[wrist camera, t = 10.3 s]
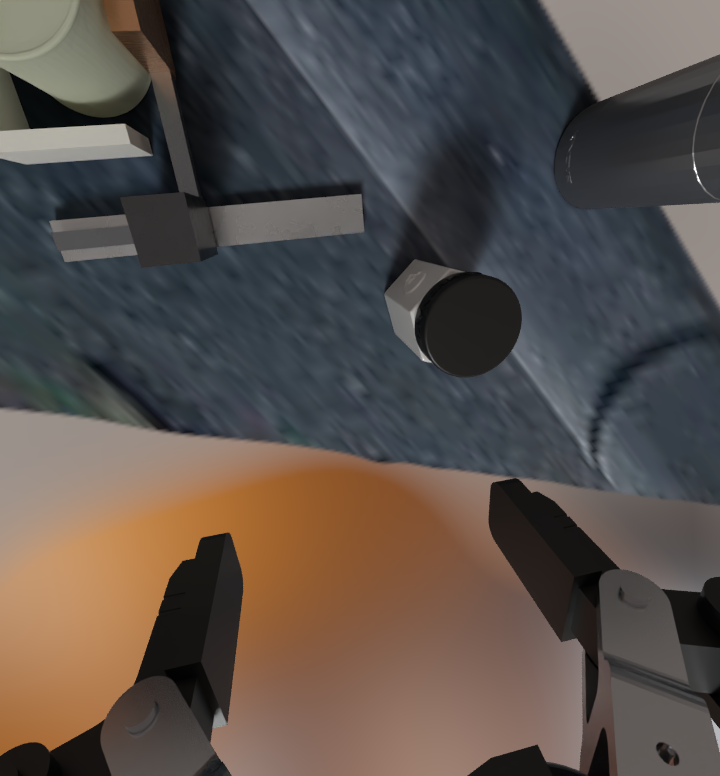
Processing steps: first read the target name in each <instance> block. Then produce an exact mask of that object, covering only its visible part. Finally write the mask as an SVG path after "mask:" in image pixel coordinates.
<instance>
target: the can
mask: <svg viewBox="0 0 720 776" xmlns="http://www.w3.org/2000/svg"><path fill="white" fill-rule="evenodd" d="M0 67H1V68H3V69H5V70H6V71H8V72H10V73H12V74H14V75H16V76H18V77H19V78H21V79H23V80H25V81H27V82H29V83H30V84H32V85H34V86H36V87H37V88H39V89H41V90H43V91H44V92H46V93H48V94H50V95H51V96H52V97H53V98H55V99H56V100H57V101H59V102H60V103H62V104H63V105H65V106H66V107H68V108H70V109H72V110H74V111H76V112H79V113H82V114H85V115H88V116H93V117H101V118H106V117H115V116H119V115H122V114H124V113H127V112H128V111H130V110H132V109H133V108H134V107H135V106H137V105H138V104H139V102H140V101H141V100H142V99H143V97H144V96H145V94H146V92H147V90H148V88H149V86H150V82H151V76H150V74H149V73H148V72H147V71H146V69H145V68H144V67H143V66H142V65H141V64H140V63H139V62H138V61H137V59H136V58H135V57H134V56H133V55H132V54H131V53H130V52H129V51H128V50H127V48H126V47H125V46H124V45H123V44H122V43H121V42H120V41H119V40H118V38H117V37H116V36H115V35H114V34H113V33H112V32H111V29H110V26H109V22H108V18H107V15H106V11H105V7H104V4H103V0H0Z"/></svg>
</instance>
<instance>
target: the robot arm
mask: <svg viewBox="0 0 720 776" xmlns="http://www.w3.org/2000/svg"><path fill="white" fill-rule="evenodd" d="M554 173H555V179H556V184H557V187H558V189H559V192H560V193H561V195H562V196H563V198H564V199H565V200H566V201H567V202H568V203H569V204H571V205H572V206H575V207H577V208H581V209H603V208H626V207H645V206H663V205H682V204H701V203H719V202H720V55H717V56H715V57H712V58H709V59H707V60H704V61H702V62H699V63H697V64H694V65H692V66H689V67H687V68H684V69H682V70H679V71H676V72H674V73H672V74H669V75H666V76H664V77H661V78H659V79H656V80H654V81H651V82H649V83H646V84H644V85H641V86H638V87H636V88H634V89H631V90H628V91H625V92H623V93H620V94H618V95H615V96H613V97H610V98H608V99H605V100H603V101H600V102H598V103H595V104H592V105H591V106H589V107H587V108H586V109H584V110H582V111H581V112H580V113H579V114H578V115H577V116H576V117H575V118H574V119H573V120H572V121H571V123H570V124H569V125H568V127H567V128H566V130H565V132H564V134H563V135H562V137H561V139H560V142H559V145H558V148H557V152H556V157H555V170H554ZM489 527H490V531H491V534H492V537H493V539H494V540H495V542H496V544H497V545H498V547H499V548H500V549H501V551H502V553H503V554H504V556H505V557H506V559H507V560H508V562H509V563H510V565H511V566H512V568H513V569H514V571H515V572H516V574H517V575H518V577H519V578H520V580H521V581H522V583H523V585H524V586H525V587H526V589H527V591H528V592H529V593H530V595H531V597H532V598H533V600H534V601H535V603H536V604H537V606H538V607H539V609H540V610H541V612H542V613H543V615H544V616H545V618H546V619H547V621H548V622H549V624H550V625H551V627H552V628H553V630H554V631H555V633H556V635H557V636H558V637H559V639H560V640H561V642H563V641H567V640H571V639H575V638H577V639H578V641H579V642H580V644H581V645H582V646H583V652H582V698H583V699H582V702H583V704H582V706H583V735H582V746H581V755H580V770H579V771H578V770H575V769H572V768H570V767H567V766H564V765H560V764H556V763H550V762H546V761H545V759H544V757H543V755H542V753H541V751H540V749H539V747H538V745H535V746H531V747H528V748H524V749H521V750H517V751H514V752H510V753H507V754H503V755H500V756H496V757H493V758H490V759H489V760H488V761H486V762H485V763H484V764H483V765H481V766H480V767H478V768H477V769H476V770H474V771H473V772H472V773H471V774H469V775H468V776H720V752H719V748H718V744H717V741H716V736H715V733H714V729H713V725H712V721H711V718H712V719H713V721H714V722H715V723H716V725H717V726H718V727H719V728H720V577H714V578H710V579H709V580H707V581H706V582H705V584H704V587H703V589H702V592H688V591H676V590H665V589H660V588H659V587H658V586H657V585H656V584H655V583H654V582H652V581H651V580H649V579H648V578H646V577H644V576H642V575H640V574H637V573H635V572H632V571H628V570H621V569H620V568H619V567H617V566H616V564H614V562H613V561H612V560H611V559H610V558H609V557H608V556H607V555H606V554H605V553H604V552H603V551H602V550H601V549H600V548H599V547H598V546H597V545H596V544H595V543H594V542H593V541H592V540H591V539H590V538H589V537H588V536H587V535H586V534H585V533H584V531H583V530H582V529H581V528H579V527H577V525H576V523H575V522H574V521H573V520H572V519H571V518H570V517H567V514H566V513H565V512H564V511H563V510H562V509H561V508H560V507H559V506H558V505H557V504H556V503H555V502H554V501H553V500H551V499H549V498H548V497H546V496H544V495H542V494H541V493H539V492H533V493H531V492H530V491H529V490H528V489H527V488H526V487H525V485H524V484H523V483H522V482H521V481H520V480H519V479H516V478H514V479H510V480H505V481H499V482H494V483H492V485H491V490H490V505H489ZM242 596H243V577H242V571H241V567H240V564H239V560H238V557H237V554H236V551H235V547H234V544H233V540H232V537H231V535H230V533H224V534H218V535H213V536H208V537H203V538H201V540H200V542H199V545H198V549H197V553H196V557H195V559H190V560H186V561H182V563H181V564H180V565H179V567H178V568H177V569H176V571H175V572H174V573H173V575H172V576H171V577H170V579H169V582H168V585H167V588H166V591H165V595H164V600H163V601H162V603H161V606H160V609H159V616H157V618H156V621H155V624H154V627H153V630H152V634H151V636H150V640H149V642H148V645H147V648H146V651H145V655H144V658H143V661H142V664H141V667H140V670H139V673H138V676H137V678H136V681H135V683H134V685H133V686H132V687H131V688H129V689H128V690H127V691H126V692H125V693H124V694H122V696H121V697H120V698H119V699H118V700H117V701H116V702H115V704H114V705H113V707H112V708H111V709H110V711H109V713H108V714H107V717H106V719H104V720H103V721H102V722H101V723H99V724H98V725H96V726H94V727H93V728H91V729H89V730H87V731H86V732H84V733H82V734H80V735H79V736H77V737H75V738H73V739H71V740H70V741H68V742H66V743H64V744H62V745H61V746H59V747H57V748H55V749H54V750H52V751H50V752H49V750H48V749H47V748H46V747H45V746H44V745H42V744H40V743H35V742H34V743H26V744H22V745H20V746H17V747H15V748H13V749H11V750H9V751H7V752H6V753H4V754H3V755H1V756H0V776H231V774H230V772H229V771H228V769H227V768H226V766H225V765H224V763H223V762H221V760H220V759H219V758H218V756H217V754H216V752H215V751H214V749H213V747H212V746H211V744H210V741H211V733H212V729H213V728H217V727H221V726H225V725H227V722H228V714H229V705H230V697H231V689H232V680H233V671H234V663H235V654H236V647H237V638H238V630H239V621H240V613H241V605H242Z"/></svg>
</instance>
